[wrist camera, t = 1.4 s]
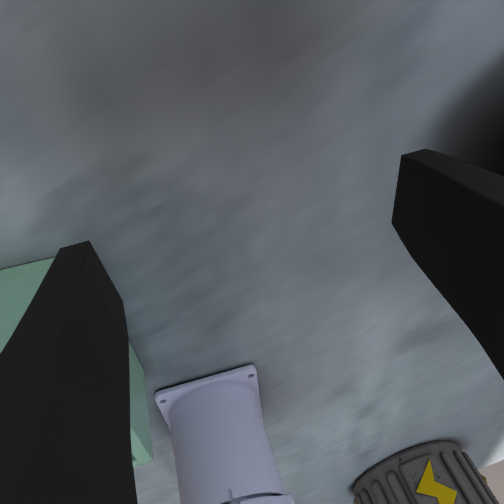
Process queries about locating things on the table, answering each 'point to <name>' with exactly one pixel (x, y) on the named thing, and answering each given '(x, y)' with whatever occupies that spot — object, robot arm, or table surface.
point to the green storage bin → (21, 294)
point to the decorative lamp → (424, 478)
